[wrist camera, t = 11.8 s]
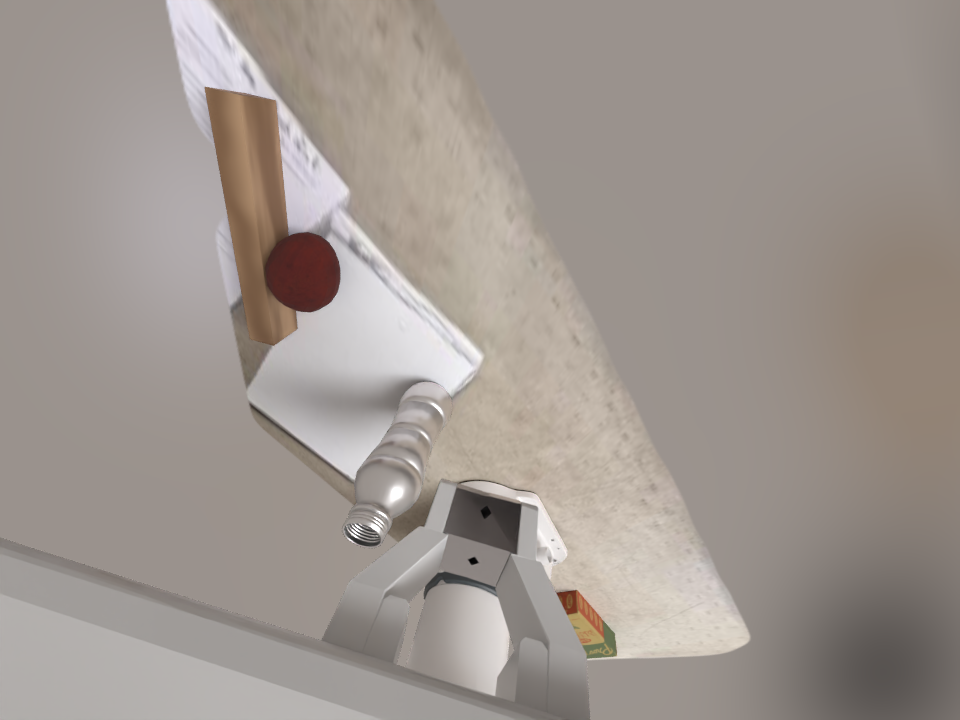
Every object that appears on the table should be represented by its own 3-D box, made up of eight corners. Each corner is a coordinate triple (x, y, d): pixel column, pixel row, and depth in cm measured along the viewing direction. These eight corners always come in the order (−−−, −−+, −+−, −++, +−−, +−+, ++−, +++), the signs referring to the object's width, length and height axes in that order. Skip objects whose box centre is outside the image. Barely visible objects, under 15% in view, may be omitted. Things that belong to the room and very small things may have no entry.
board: (275, 100, 33) (238, 94, 29) (297, 328, 46) (273, 345, 42) (245, 93, 33) (204, 86, 29) (275, 322, 46) (249, 339, 42)
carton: (577, 587, 64) (579, 614, 60) (615, 632, 70) (619, 658, 66) (536, 594, 68) (535, 619, 64) (576, 636, 73) (577, 661, 69)
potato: (362, 246, 38) (327, 265, 32) (342, 308, 43) (308, 335, 37) (299, 210, 38) (251, 222, 32) (285, 277, 42) (241, 299, 36)
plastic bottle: (399, 380, 47) (310, 513, 30) (445, 370, 45) (376, 507, 28) (420, 418, 50) (349, 559, 33) (464, 410, 47) (412, 557, 30)
